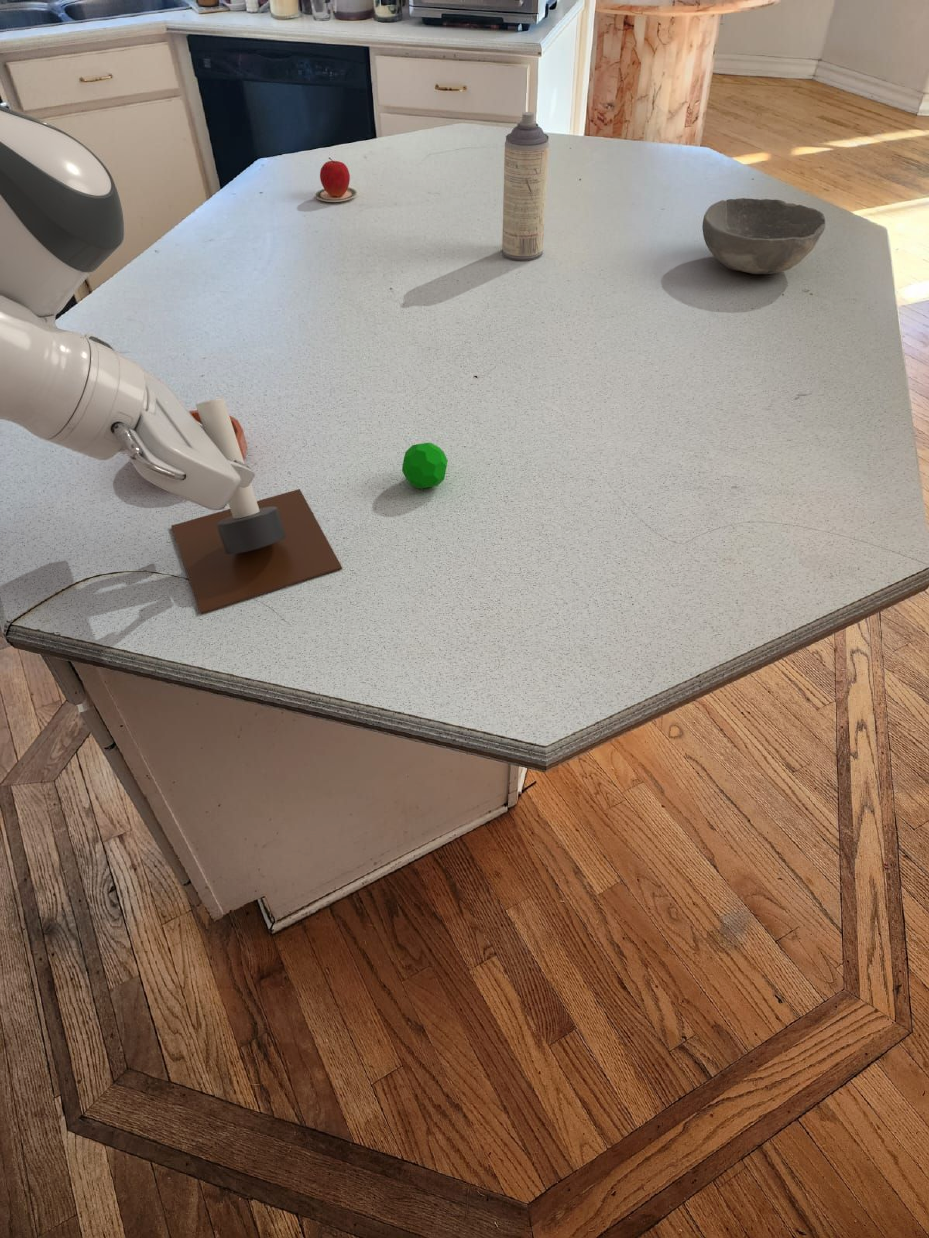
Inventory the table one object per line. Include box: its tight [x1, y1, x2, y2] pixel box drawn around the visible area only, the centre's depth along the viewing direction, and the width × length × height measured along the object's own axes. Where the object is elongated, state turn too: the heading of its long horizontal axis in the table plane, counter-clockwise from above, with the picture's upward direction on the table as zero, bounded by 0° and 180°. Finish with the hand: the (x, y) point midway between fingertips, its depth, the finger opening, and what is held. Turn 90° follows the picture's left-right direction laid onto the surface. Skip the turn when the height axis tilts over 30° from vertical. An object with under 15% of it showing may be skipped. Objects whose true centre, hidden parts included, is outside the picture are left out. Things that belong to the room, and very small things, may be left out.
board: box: [170, 488, 343, 615], centre depth 77 cm, size 14×14×1 cm
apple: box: [315, 157, 358, 203], centre depth 144 cm, size 8×8×6 cm
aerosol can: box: [501, 111, 550, 262], centre depth 120 cm, size 7×7×20 cm
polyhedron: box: [401, 442, 448, 490], centre depth 82 cm, size 5×5×5 cm
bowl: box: [701, 197, 826, 275], centre depth 119 cm, size 18×18×8 cm
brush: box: [195, 397, 286, 554], centre depth 73 cm, size 6×6×14 cm
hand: (238, 464), depth 73 cm, fingers closed on brush, 4 cm apart
